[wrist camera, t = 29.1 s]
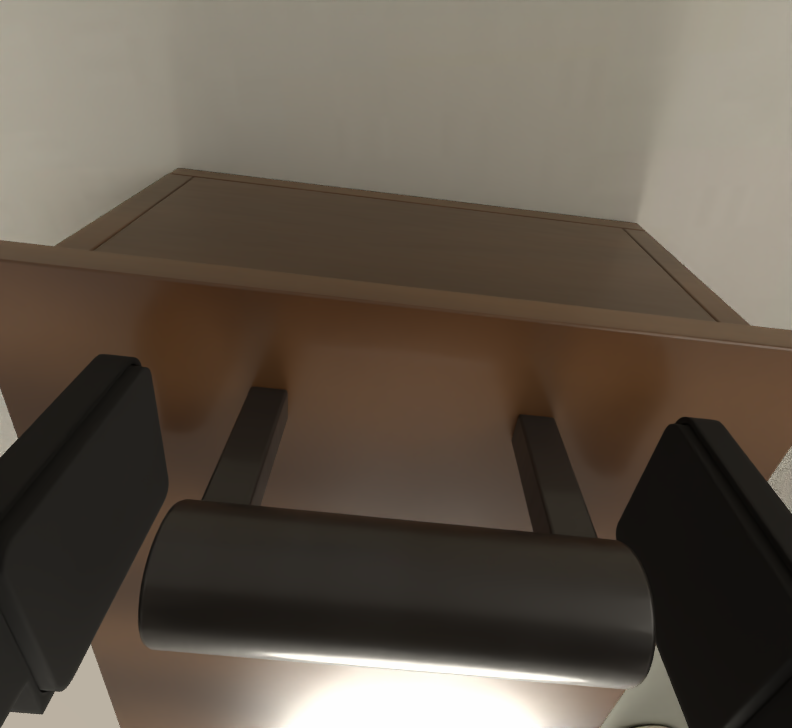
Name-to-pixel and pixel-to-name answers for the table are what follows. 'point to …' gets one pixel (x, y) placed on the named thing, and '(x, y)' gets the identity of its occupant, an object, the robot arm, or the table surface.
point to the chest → (402, 243)
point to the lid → (381, 486)
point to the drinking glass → (651, 727)
